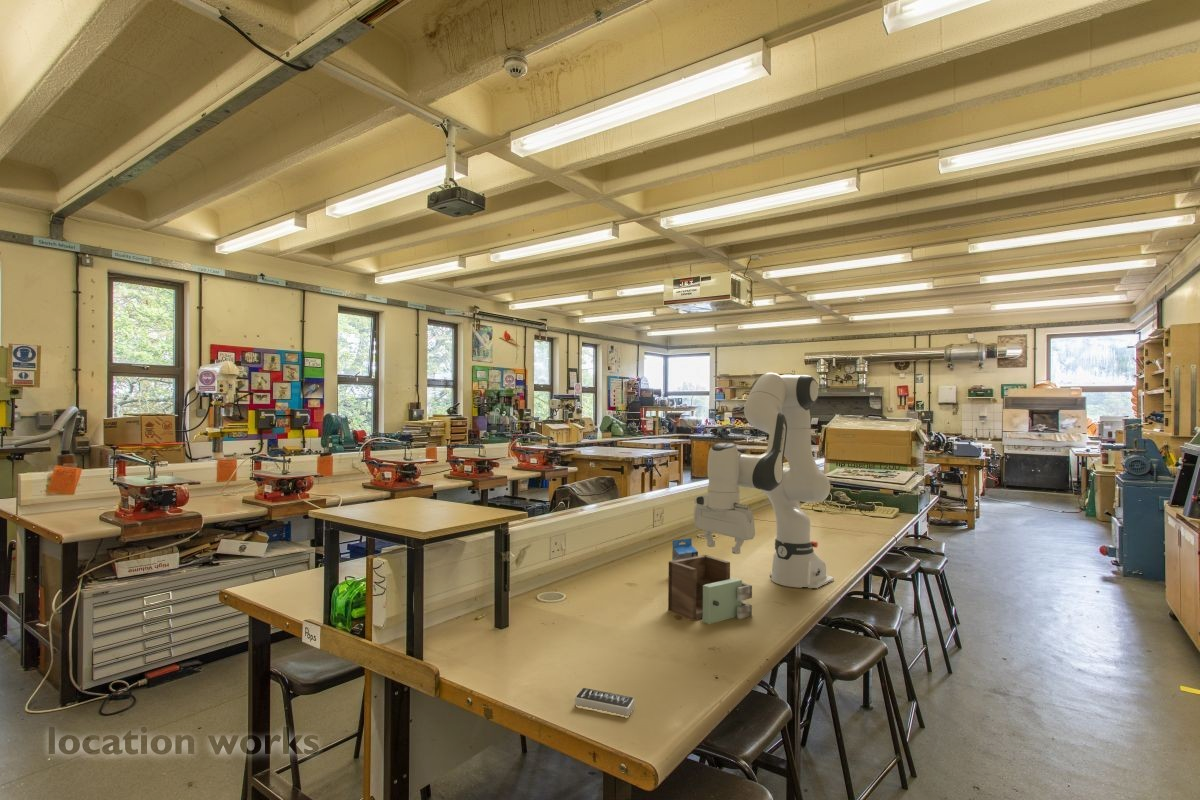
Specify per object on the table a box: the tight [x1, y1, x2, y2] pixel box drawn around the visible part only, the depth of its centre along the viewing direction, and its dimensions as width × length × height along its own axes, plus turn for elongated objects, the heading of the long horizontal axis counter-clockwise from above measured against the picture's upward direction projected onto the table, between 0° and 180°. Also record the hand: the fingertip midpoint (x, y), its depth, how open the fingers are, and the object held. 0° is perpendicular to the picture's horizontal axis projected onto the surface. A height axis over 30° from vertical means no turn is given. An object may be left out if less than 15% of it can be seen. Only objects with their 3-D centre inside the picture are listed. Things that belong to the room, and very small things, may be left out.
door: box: [702, 577, 743, 625], centre depth 159 cm, size 13×4×10 cm, turn 124°
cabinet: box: [667, 554, 753, 621], centre depth 164 cm, size 17×16×14 cm
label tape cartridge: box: [671, 537, 699, 561], centre depth 202 cm, size 9×4×12 cm, turn 120°
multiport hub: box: [574, 687, 635, 716], centre depth 110 cm, size 4×11×2 cm, turn 70°
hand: (723, 550), depth 160 cm, fingers open, 8 cm apart
